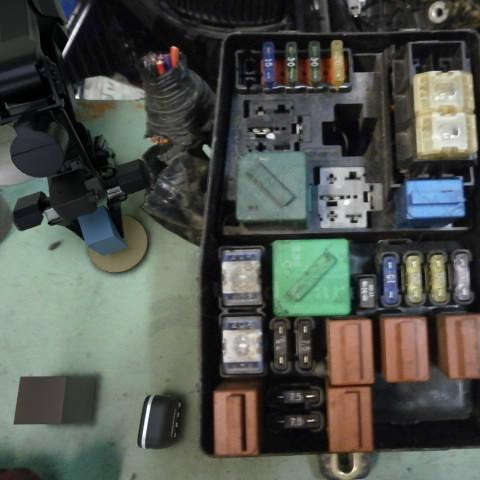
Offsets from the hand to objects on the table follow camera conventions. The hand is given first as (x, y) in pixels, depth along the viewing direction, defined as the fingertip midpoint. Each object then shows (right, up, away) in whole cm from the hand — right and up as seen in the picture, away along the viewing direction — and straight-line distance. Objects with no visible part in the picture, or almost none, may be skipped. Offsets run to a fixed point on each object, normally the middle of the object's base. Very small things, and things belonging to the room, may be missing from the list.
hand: (109, 242), depth 81 cm
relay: (-1, +1, +2) cm, 2 cm away
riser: (-5, -24, -1) cm, 24 cm away
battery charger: (+10, -26, -1) cm, 28 cm away
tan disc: (-1, -1, +6) cm, 6 cm away
